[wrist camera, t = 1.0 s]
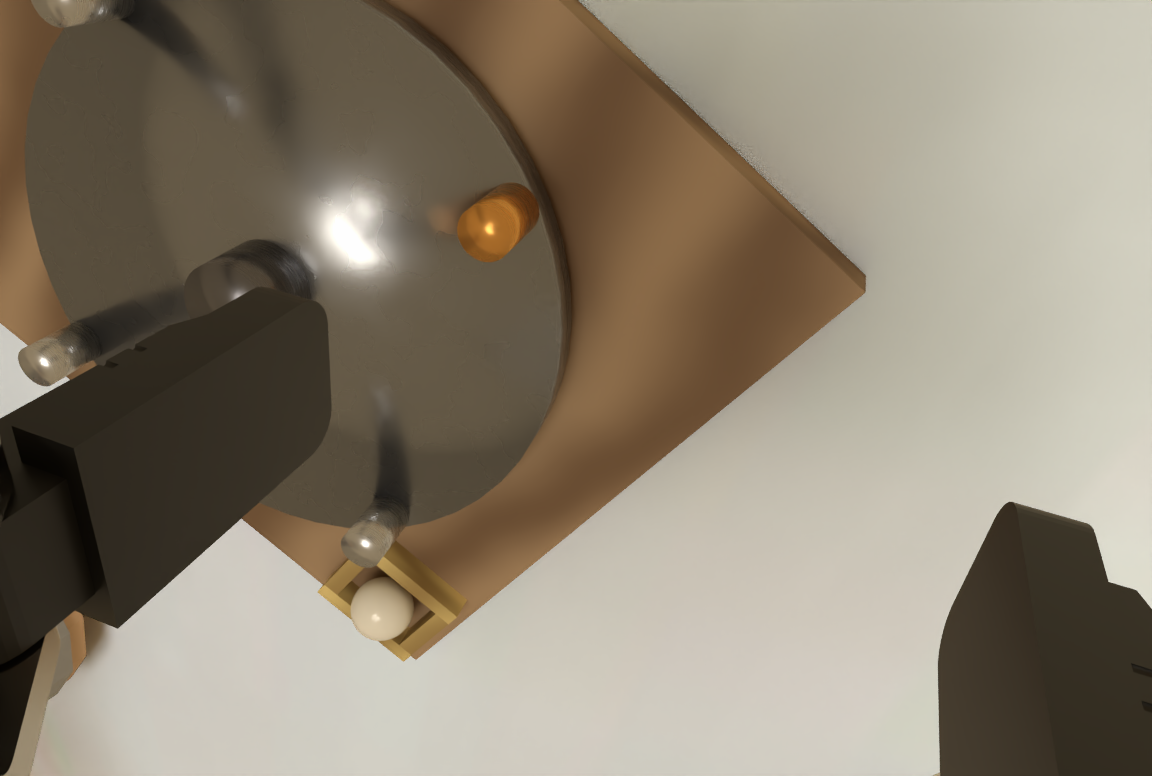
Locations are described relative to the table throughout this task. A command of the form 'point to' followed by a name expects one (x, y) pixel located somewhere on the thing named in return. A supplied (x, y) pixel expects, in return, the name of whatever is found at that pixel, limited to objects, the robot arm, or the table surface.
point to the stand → (597, 282)
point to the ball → (381, 609)
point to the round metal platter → (307, 230)
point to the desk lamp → (69, 650)
